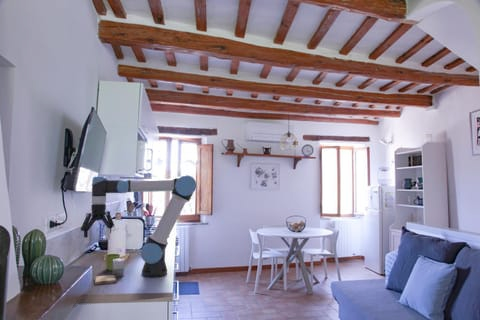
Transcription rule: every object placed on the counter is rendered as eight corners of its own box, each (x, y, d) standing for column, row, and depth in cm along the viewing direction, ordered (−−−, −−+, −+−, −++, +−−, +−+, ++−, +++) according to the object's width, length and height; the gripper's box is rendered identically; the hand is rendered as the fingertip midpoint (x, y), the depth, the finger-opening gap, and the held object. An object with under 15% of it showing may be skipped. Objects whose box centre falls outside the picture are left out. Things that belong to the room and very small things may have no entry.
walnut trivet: (115, 277, 189) (115, 274, 189) (116, 282, 178) (116, 280, 179) (94, 278, 184) (95, 276, 184) (94, 284, 174) (94, 282, 174)
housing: (122, 272, 198) (123, 257, 198) (123, 276, 191) (124, 260, 192) (112, 273, 195) (113, 258, 196) (112, 277, 189) (113, 261, 189)
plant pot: (103, 271, 199) (104, 257, 199) (103, 267, 207) (104, 254, 208) (119, 270, 202) (120, 256, 203) (119, 266, 211) (120, 253, 212)
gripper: (112, 202, 196) (111, 237, 195) (74, 204, 175) (72, 244, 173) (121, 202, 193) (120, 238, 191) (83, 205, 171) (81, 245, 170)
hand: (97, 241), depth 182 cm, fingers open, 13 cm apart
